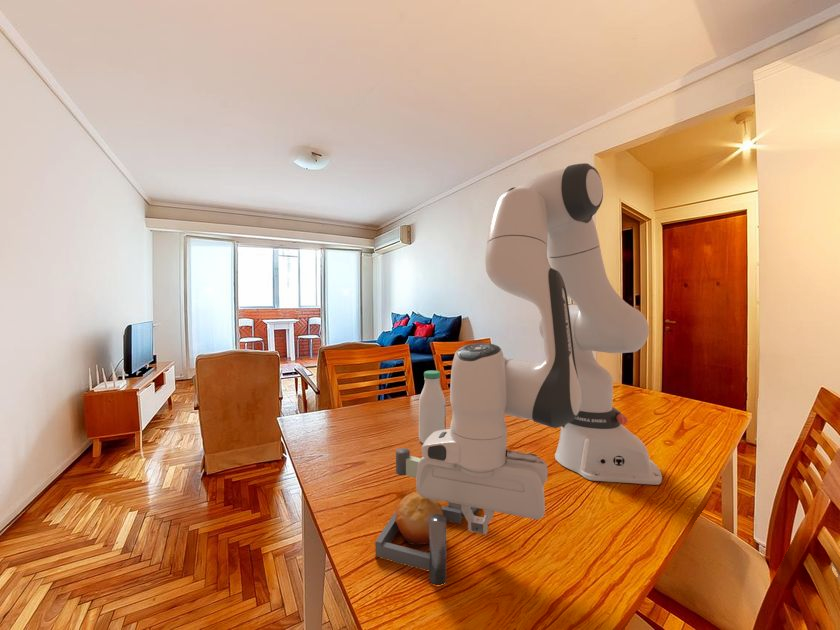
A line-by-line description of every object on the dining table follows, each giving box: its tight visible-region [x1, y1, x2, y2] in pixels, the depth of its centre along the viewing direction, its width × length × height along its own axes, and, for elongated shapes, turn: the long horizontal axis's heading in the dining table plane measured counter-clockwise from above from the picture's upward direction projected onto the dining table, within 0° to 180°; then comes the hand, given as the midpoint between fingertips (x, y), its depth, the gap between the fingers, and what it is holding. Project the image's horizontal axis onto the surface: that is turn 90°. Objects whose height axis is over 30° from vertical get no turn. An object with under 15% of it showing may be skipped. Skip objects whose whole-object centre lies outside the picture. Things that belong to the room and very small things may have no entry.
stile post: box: [429, 514, 447, 585], centre depth 48 cm, size 2×2×9 cm
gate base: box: [447, 502, 480, 518], centre depth 65 cm, size 6×6×2 cm
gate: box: [395, 447, 421, 479], centre depth 69 cm, size 3×17×6 cm, turn 61°
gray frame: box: [374, 495, 463, 572], centre depth 57 cm, size 11×13×2 cm
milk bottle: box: [418, 370, 447, 445], centre depth 96 cm, size 8×8×20 cm
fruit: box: [395, 491, 443, 545], centre depth 58 cm, size 8×8×8 cm
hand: (478, 530), depth 54 cm, fingers closed
